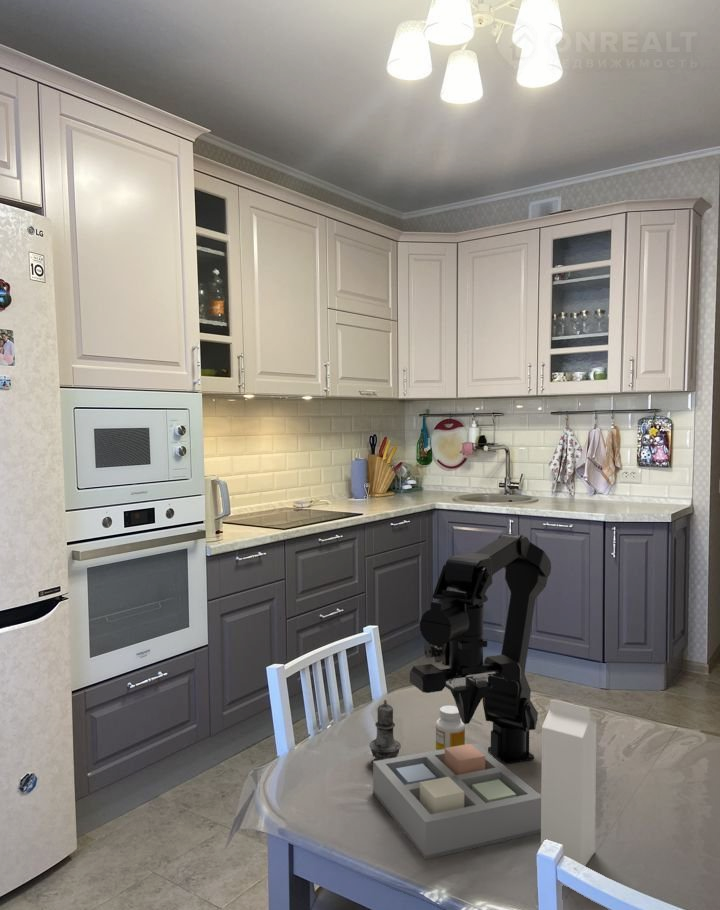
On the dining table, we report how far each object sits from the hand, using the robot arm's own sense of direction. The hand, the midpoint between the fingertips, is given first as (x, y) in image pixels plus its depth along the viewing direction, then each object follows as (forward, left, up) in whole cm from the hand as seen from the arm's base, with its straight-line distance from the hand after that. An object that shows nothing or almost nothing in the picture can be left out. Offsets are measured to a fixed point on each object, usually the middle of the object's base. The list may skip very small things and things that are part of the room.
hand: (465, 722), depth 116 cm
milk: (-5, +21, -12) cm, 24 cm away
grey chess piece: (+9, -14, -12) cm, 21 cm away
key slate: (+9, 0, -11) cm, 15 cm away
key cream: (+9, +9, -9) cm, 16 cm away
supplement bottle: (-3, -11, -12) cm, 17 cm away
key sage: (0, +9, -11) cm, 14 cm away
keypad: (+5, +5, -12) cm, 14 cm away
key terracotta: (0, 0, -9) cm, 9 cm away
